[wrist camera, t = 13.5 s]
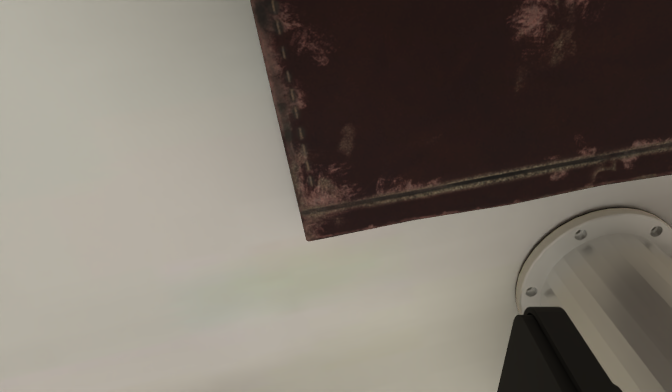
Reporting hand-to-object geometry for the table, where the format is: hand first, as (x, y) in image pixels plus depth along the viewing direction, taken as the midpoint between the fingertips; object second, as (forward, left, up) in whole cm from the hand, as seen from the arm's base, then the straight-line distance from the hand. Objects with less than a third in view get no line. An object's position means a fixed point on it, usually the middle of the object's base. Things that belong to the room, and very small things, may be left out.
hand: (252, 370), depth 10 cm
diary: (-12, +1, -27) cm, 29 cm away
